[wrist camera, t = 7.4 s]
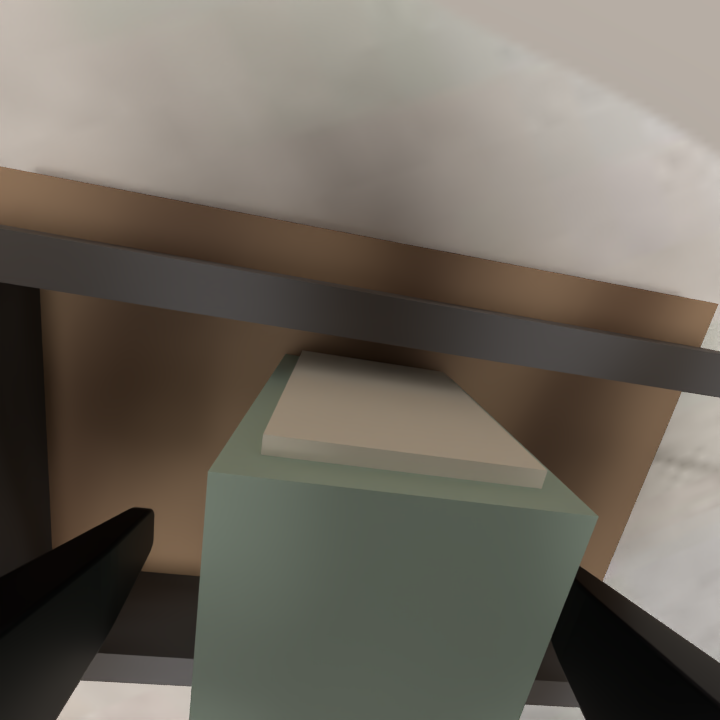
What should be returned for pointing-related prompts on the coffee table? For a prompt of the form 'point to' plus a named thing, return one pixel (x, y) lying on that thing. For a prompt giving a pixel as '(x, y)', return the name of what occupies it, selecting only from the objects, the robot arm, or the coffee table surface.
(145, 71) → the coffee table surface
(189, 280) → the cradle
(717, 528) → the coffee table surface
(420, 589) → the cabinet block
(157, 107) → the coffee table surface
